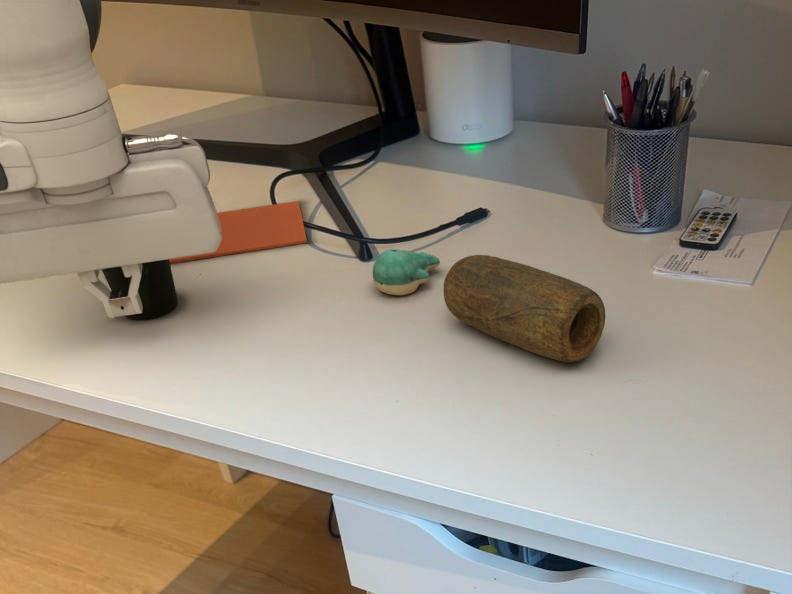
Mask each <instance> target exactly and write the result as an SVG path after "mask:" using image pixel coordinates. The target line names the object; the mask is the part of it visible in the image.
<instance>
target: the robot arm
mask: <svg viewBox="0 0 792 594" xmlns="http://www.w3.org/2000/svg"><path fill="white" fill-rule="evenodd" d="M102 11H103V9H102V0H0V285H2V284H3V285H4V284H10V283H16V282H17V283H18V282H24V281H30V280H36V279H44V278H50V277H57V276H64V275H71V274H76V273H77V276H78V278H79V281H80V283H81V285H82V286H83V287H84V288H85V289H86V290H88V291H89V293H91V294H92V295H93V296H94V297H96V298H97V300H99V301H100V302H102V304H103V307H104V310H105V312H106V315H107V317H108V319H113V318H119V317H124V315H133V314H139V313H142V309H143V307H142V302H141V299H140V296H139V293H138V288H139V283H140V279H141V274H142V263H146V262H152V261H159V260H166V259H173V258H180V257H186V256H193V255H200V254H207V253H213V252H215V251H216V250H217V249H218V247H219V245H220V243H221V241H222V229H221V224H220V221H219V217H218V214H217V213H218V212H217V209H216V205H215V202H214V199H213V197H212V195H211V192H210V190H209V187H208V185H209V183H210V181H211V171H210V167H209V163H208V159H207V154H206V152H205V149H204V148H203V147H202V145H200V143H199V142H198V141H196V140H195V139H193V138H191V137H189V136H185V135H182V134H181V132H179V131H169V132H168V131H167V132H164V133H162V134H157V135H138V136H128V137H124V136H123V133H122V130H121V127H120V123H119V120H118V117H117V114H116V111H115V107H114V104H113V101H112V98H111V95H110V92H109V89H108V87H107V84H106V83H105V81H104V80H103V78H102V76H101V75H100V73H99V71H98V70H97V67H96V65H95V61H94V59H93V55H92V54H93V53H94V50H95V49H96V45H97V42H98V38H99V35H100V32H101V31H100V30H101V25H102V13H103V12H102ZM184 143H187V144H184ZM119 266H121V267H122V270H123V273H124V276H125V277H131V281H130V285H129V288H128V289H122V290H115V291H111V289H110V287H109V286H107V285H106V284H105V283H104V282H103V281H102V280H101V279H100V278H99V275H100V270H101V269H105V268H112V267H119ZM131 275H132V276H131Z"/></svg>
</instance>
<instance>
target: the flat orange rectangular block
mask: <svg viewBox="0 0 792 594" xmlns="http://www.w3.org/2000/svg"><path fill="white" fill-rule="evenodd" d="M301 209H302V208H301V205H300V201H299V200H297V201H290V202H289V201H288V202H283V203H277V204H276V203H275V204H268V205H261V206H256V207H255V206H254V207H249V208H241V209H235V210H228V211H221V212H217V214H218V217H219V221H220V224H221V229H222V241H221V243H220V245H219V247H218V249H217V250H216V251H215V252H213V253H207V254H200V255H193V256H186V257H180V258H173V259H169V262H170V265H171V264H177V263H184V262H190V261H196V260H202V259H209V258H217V257H221V256H228V255H234V254H242V253H248V252H249V253H250V252H254V251H263V250H267V249H276V248H282V247H288V246H294V245H302V244H308V239H307V234H306V230H305V224H304V221H303V215H302V210H301Z"/></svg>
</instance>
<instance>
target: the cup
mask: <svg viewBox="0 0 792 594" xmlns="http://www.w3.org/2000/svg"><path fill="white" fill-rule="evenodd" d="M100 270H101V272H102V274H103V277H104V278H105V281H106V283H107V285H108V288H109V289H110V290H111V291H115V290H122V289H128V288H129V285H130V281H131V277H125V276H124V273H123V270H122V267H121V266H119V267H112V268H105V269H100ZM131 276H132V275H131ZM138 293H139V296H140V299H141V302H142V307H143V309H142V313H139V314H133V315H124V316H123V317H125V318H126V319H128V320H132V321H149V320H154V319H158V318H161V317H163V316H166V315H168V314H169V313H171V312H173V311H174V310H176V309H177V307H178V306H179V299H178V294H177V288H176V285H175V280H174V276H173V272H172V266H171V264H170V262H169V259H166V260H159V261H152V262H146V263H142V274H141V279H140V283H139V288H138Z"/></svg>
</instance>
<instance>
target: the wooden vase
mask: <svg viewBox="0 0 792 594" xmlns="http://www.w3.org/2000/svg"><path fill="white" fill-rule="evenodd" d="M443 300H444V303H445V305H446V308H447V309H448V311H449V312H450V313H451V314H452V315H453V316H454V317H456V318H457V319H458V320H459V321H460V322H461V321H462V322H463V323H464V324H467V325H469V326H470V327H471V328H474V329H476V330H478V331H480V332H483V333H484V334H487V335H488V336H491V337H492V338H496V339H498V340H500V341H503V342H506V343H508V344H511V345H513V346H515V347H517V348H521V349H522V350H525V351H527V352H530V353H532V354H536V355H539V356H542V357H545V358H547V359H551V360H555V361H561V362H565V363H572V362H578V361H580V360H583V359H584V358H586V357H587V356H589V355H590V354H591V353H592V352H593V350H594V349H595V348H596V346H597V344H598V343H599V341H600V339H601V337H602V334H603V332H604V328H605V324H606V308H605V307H606V306H605V304H604V301H603V299H602V298H601V296H600V295H599V293H597V292H596V291H595V290H593V289H592V288H589V287H588V286H586V285H583V284H581V283H579V282H576V281H574V280H573V279H569V278H567V277H564V276H560V275H558V274H557V275H556V274H555V273H552V272H549V271H545V270H542V269H539V268H536V267H533V266H530V265H528V264H524V263H520V262H518V261H513V260H509V259H504V258H501V257H498V256H493V255H492V256H491V255H487V254H473V255H469V256H465V257H463V258H461V259H459V260H457V261H456V262H455V263H454V264H453V265H452V266H451V267H450V269H449V270H448V272H447V274H446V276H445V278H444V282H443Z"/></svg>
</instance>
